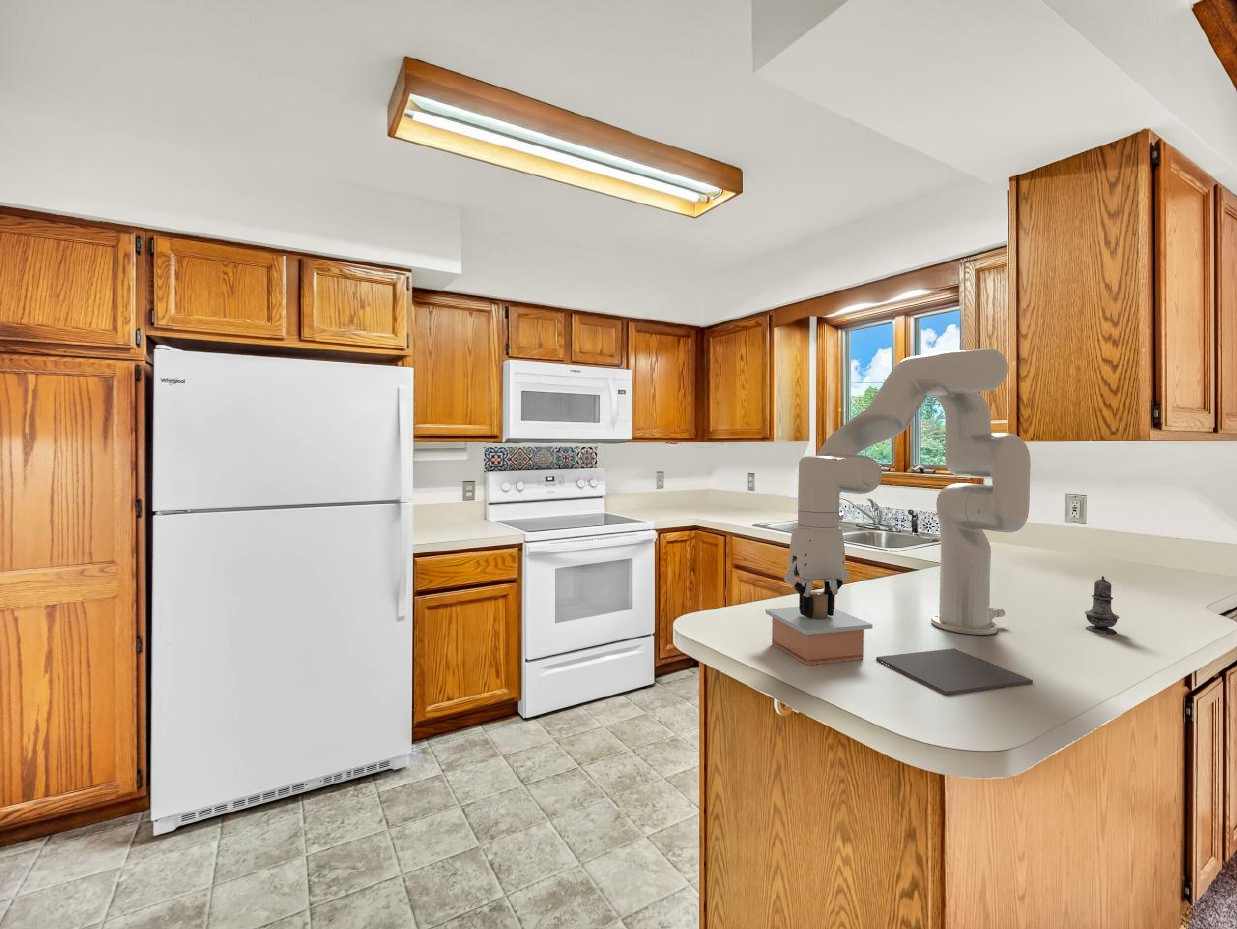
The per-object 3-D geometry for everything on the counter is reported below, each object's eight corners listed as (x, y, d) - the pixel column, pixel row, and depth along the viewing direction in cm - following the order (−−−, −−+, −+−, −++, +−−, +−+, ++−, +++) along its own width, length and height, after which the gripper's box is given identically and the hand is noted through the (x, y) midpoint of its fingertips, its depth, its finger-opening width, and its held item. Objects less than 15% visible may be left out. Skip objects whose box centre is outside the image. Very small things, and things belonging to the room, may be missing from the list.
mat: (953, 651, 114) (954, 648, 114) (1032, 683, 98) (1032, 680, 98) (876, 660, 109) (876, 657, 109) (946, 695, 93) (946, 691, 93)
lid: (825, 611, 122) (826, 583, 122) (872, 631, 108) (872, 600, 108) (765, 616, 118) (765, 587, 118) (806, 638, 104) (806, 605, 104)
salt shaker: (1115, 636, 123) (1117, 580, 123) (1080, 630, 128) (1082, 575, 127) (1121, 631, 127) (1123, 576, 127) (1087, 625, 131) (1089, 571, 131)
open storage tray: (823, 638, 121) (824, 610, 121) (863, 659, 109) (864, 627, 109) (772, 644, 117) (772, 614, 117) (807, 665, 106) (807, 632, 106)
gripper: (842, 516, 118) (841, 606, 119) (769, 519, 114) (768, 612, 114) (868, 521, 111) (866, 617, 112) (790, 524, 107) (789, 624, 107)
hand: (816, 613), depth 113 cm, fingers closed on lid, 4 cm apart
